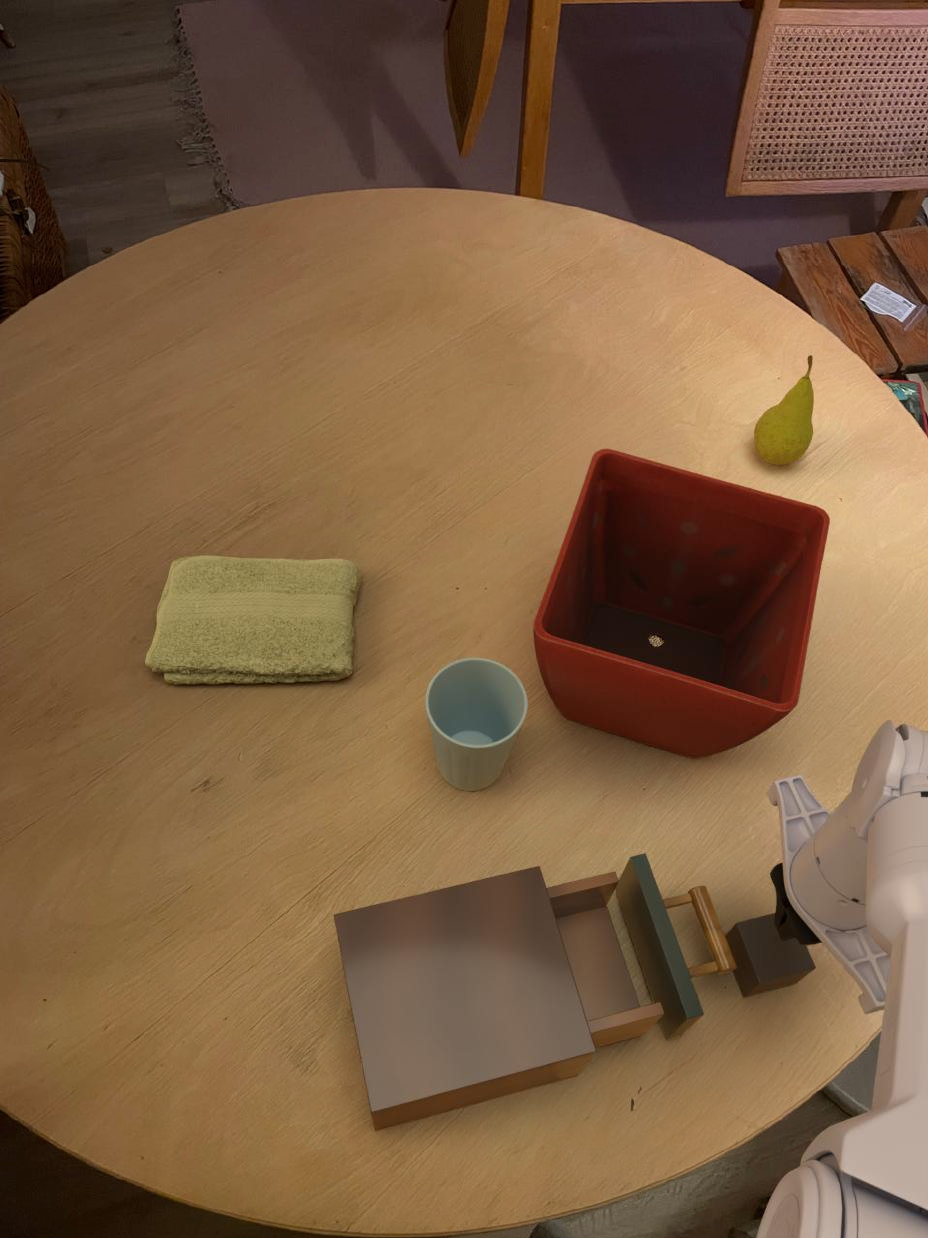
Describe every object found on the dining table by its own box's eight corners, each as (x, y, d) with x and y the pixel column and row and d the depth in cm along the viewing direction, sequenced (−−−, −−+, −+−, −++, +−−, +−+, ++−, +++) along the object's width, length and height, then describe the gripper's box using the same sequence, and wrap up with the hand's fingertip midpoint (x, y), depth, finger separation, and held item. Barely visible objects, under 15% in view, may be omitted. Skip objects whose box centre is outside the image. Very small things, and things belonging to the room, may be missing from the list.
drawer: (679, 872, 81) (700, 839, 75) (736, 1021, 75) (763, 998, 69) (459, 925, 78) (463, 896, 72) (500, 1085, 72) (507, 1067, 66)
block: (797, 984, 77) (816, 968, 74) (742, 998, 77) (759, 983, 73) (773, 926, 80) (790, 908, 76) (720, 940, 79) (735, 922, 75)
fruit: (765, 485, 104) (803, 398, 94) (734, 445, 107) (768, 356, 97) (812, 469, 106) (855, 382, 96) (781, 429, 108) (818, 341, 98)
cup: (434, 813, 83) (437, 756, 75) (414, 730, 87) (415, 666, 79) (525, 794, 85) (539, 736, 76) (501, 713, 89) (512, 649, 80)
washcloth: (171, 564, 96) (164, 543, 93) (363, 570, 96) (361, 549, 94) (146, 688, 88) (138, 669, 86) (353, 694, 89) (352, 675, 86)
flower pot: (733, 810, 85) (797, 714, 71) (510, 739, 87) (529, 632, 73) (770, 625, 95) (833, 508, 81) (569, 567, 97) (596, 444, 83)
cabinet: (527, 904, 80) (539, 865, 72) (578, 1076, 73) (596, 1051, 66) (340, 950, 77) (333, 914, 70) (374, 1131, 71) (371, 1113, 63)
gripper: (989, 965, 57) (892, 1021, 68) (868, 733, 64) (799, 818, 75) (873, 997, 55) (794, 1048, 67) (764, 757, 63) (710, 839, 74)
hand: (790, 928), depth 71 cm, fingers closed
